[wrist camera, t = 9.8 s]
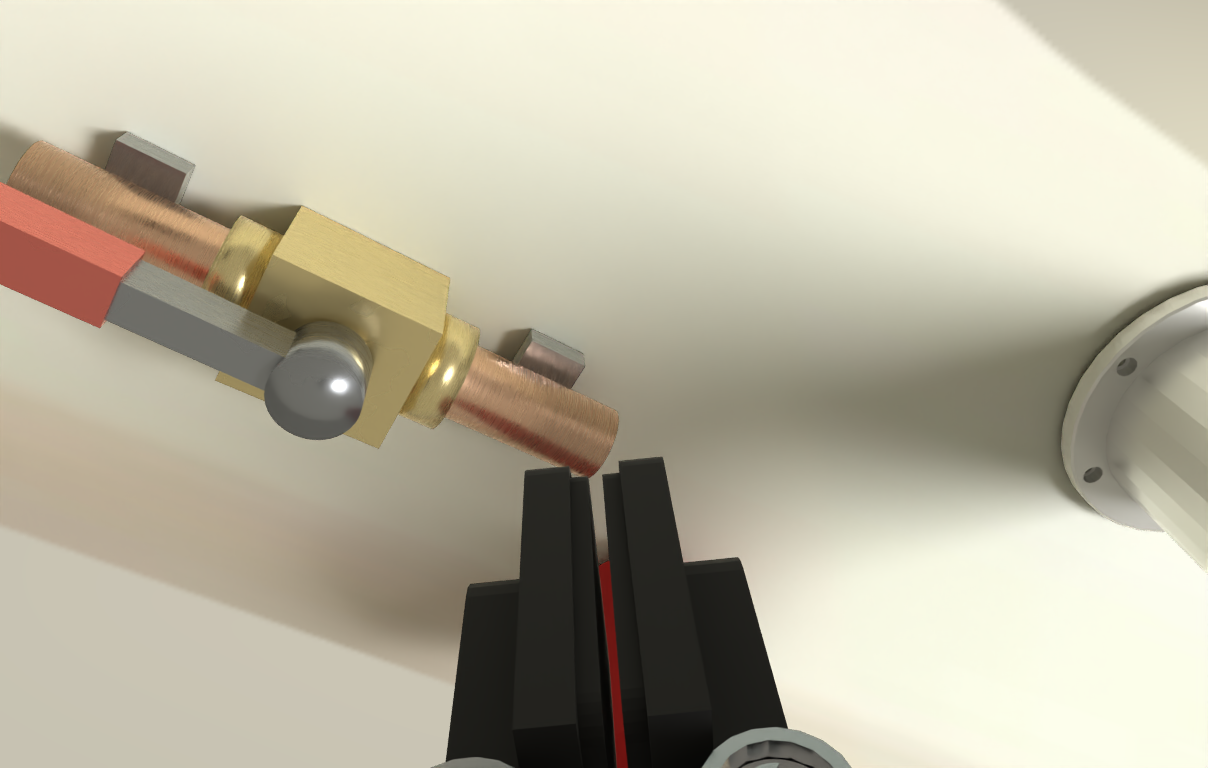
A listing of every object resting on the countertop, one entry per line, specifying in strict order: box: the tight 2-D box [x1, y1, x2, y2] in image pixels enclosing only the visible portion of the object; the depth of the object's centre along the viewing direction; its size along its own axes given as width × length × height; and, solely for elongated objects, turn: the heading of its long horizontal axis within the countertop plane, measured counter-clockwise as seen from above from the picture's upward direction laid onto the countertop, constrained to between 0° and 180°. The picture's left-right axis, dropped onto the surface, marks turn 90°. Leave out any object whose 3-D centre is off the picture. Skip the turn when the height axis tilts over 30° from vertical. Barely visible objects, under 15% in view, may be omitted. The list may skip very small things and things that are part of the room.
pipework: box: [6, 132, 619, 478], centre depth 34 cm, size 22×5×5 cm, turn 59°
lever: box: [0, 182, 373, 440], centre depth 29 cm, size 13×3×3 cm, turn 58°
